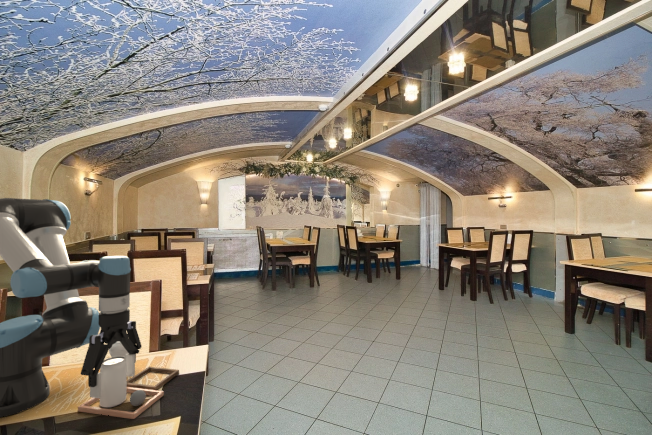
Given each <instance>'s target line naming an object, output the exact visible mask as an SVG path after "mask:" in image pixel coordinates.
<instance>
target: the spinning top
mask: <svg viewBox="0 0 652 435" xmlns="http://www.w3.org/2000/svg"><path fill="white" fill-rule="evenodd" d="M108 353H109V355H110V358H111V357H116V356H123V357H125V355H126V354H129V353H128V352H127V351H126V349H125V348H124V347H123V345H122V344H121V342H120V341H118V342H116V343H115V344H113V345H112V347H111V348H110V349H109V350H108Z"/></svg>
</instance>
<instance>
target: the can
mask: <svg viewBox="0 0 652 435" xmlns="http://www.w3.org/2000/svg"><path fill="white" fill-rule="evenodd" d="M99 373H101V397H100V399H99V406H100V408H105V409H111V408H113V407H118V406H119V405H121V404H122V403H124V402H125V401H126V399H127V393H128V392H127V380H128V378H127V377H128V376H127V362H126V361H125V357H123V356H116V357H111V356H110V357H107V358H105V359H104V361H103V363H102V365H101V368H100V370H99Z"/></svg>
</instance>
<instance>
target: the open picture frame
mask: <svg viewBox="0 0 652 435" xmlns="http://www.w3.org/2000/svg"><path fill="white" fill-rule="evenodd" d="M137 390H143V391H144V392H145V393H146V396H153V397H151V398H150V399H149V400H148V401H146V402H145V403H143V404H141V405H142V406H141V405H140V407H139V408H137V409H136V410H135V411H125V410H119V409H111V408H103V407H99V406H98V407H97V406H91V405H93V404H94V403H96V402H98V401H100V398H92V397H90V399H88V400H86V401H84V402H83V403H81V404H80V405H78V406H77V412H81V413H88V414H96V415H101V414H102V415H101V416H108V415H109V416H110V417H115V418H116V417H117V418H124V419H131V420H135V419H136V418H137V417H138V416H139V415H141V414H142V413H144V412H145V411H146V410H147V409H148V408H149V407H151V406H152V405H153V404H154V403H156V402H157V401H159V399H161V398H162V397H164V394H165V392H164V391H163V390H159V389H158V390H149V389H141V388H133V387H127V393H129V394H130V393H131V394H132V393H133V392H135V391H137ZM109 416H108V417H109Z"/></svg>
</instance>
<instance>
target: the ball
mask: <svg viewBox="0 0 652 435" xmlns="http://www.w3.org/2000/svg"><path fill="white" fill-rule="evenodd" d="M146 399H147V395H146V393H145V392H144V391H143V390H137V391H135V392H133V393H131V395H130V397H129V402H130V405H131V406H133V407H139V406H141V405H143V404H144V402H145V401H146Z"/></svg>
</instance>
